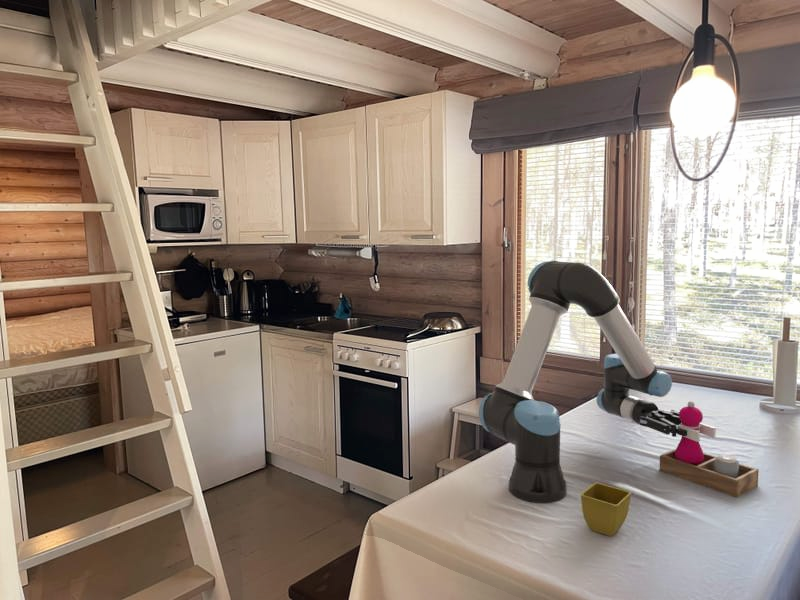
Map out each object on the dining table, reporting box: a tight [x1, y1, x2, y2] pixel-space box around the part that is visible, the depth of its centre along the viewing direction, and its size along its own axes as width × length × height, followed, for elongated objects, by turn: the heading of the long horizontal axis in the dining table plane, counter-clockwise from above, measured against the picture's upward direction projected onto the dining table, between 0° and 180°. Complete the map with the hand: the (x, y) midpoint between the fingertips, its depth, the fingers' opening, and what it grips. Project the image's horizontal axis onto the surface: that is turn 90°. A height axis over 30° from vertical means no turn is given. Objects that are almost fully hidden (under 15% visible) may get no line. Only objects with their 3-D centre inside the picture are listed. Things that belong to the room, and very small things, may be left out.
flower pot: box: [580, 482, 632, 537], centre depth 139 cm, size 9×9×9 cm
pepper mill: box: [675, 400, 704, 466], centre depth 165 cm, size 7×7×20 cm
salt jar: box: [714, 454, 740, 479], centre depth 158 cm, size 6×6×7 cm
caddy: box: [658, 448, 759, 498], centre depth 162 cm, size 11×21×6 cm, turn 34°
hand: (706, 434), depth 160 cm, fingers open, 5 cm apart
